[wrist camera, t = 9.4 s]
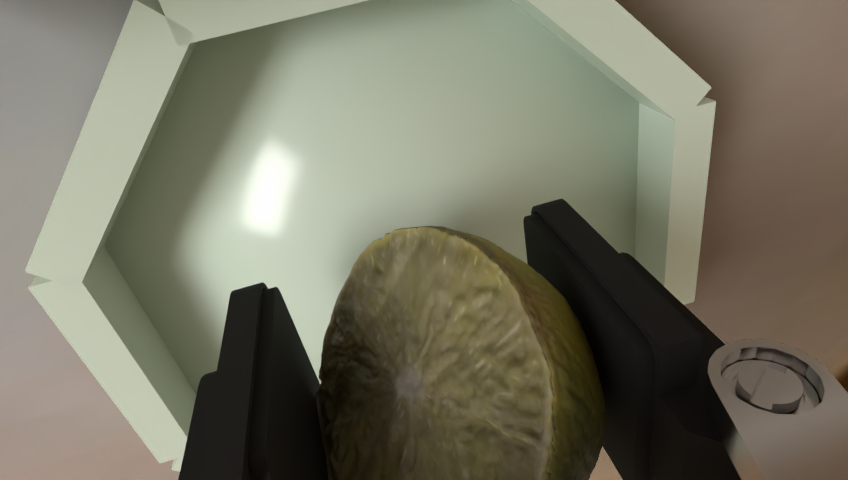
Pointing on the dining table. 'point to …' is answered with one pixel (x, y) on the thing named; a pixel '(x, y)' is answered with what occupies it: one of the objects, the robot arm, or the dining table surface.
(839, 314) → the dining table surface
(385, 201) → the dish
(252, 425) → the robot arm
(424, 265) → the lime
